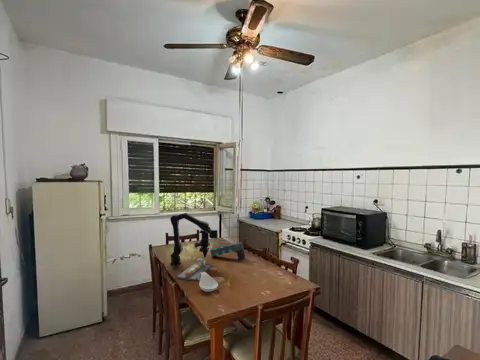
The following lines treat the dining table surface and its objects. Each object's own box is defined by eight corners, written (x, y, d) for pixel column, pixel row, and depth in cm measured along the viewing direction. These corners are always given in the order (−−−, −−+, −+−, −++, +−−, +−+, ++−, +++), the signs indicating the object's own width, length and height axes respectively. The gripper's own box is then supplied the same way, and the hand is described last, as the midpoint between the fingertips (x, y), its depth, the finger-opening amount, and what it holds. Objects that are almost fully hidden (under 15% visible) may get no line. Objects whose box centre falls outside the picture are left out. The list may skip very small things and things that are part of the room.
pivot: (200, 264, 208) (201, 261, 208) (204, 264, 207) (204, 262, 207) (198, 266, 203) (198, 263, 203) (201, 266, 202) (201, 264, 202)
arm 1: (198, 265, 203) (198, 262, 203) (199, 266, 202) (199, 263, 202) (185, 276, 181) (185, 273, 181) (186, 276, 181) (186, 273, 181)
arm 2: (200, 266, 202) (200, 263, 202) (201, 266, 202) (201, 263, 202) (186, 276, 181) (186, 273, 181) (188, 277, 181) (188, 273, 181)
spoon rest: (220, 292, 162) (220, 280, 162) (202, 296, 157) (202, 284, 156) (208, 278, 183) (208, 268, 183) (191, 281, 178) (192, 270, 178)
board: (176, 278, 182) (176, 276, 182) (194, 265, 209) (194, 263, 209) (195, 280, 178) (195, 278, 178) (210, 266, 205) (210, 265, 205)
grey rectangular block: (198, 264, 206) (198, 258, 206) (205, 265, 205) (205, 259, 205) (196, 265, 204) (196, 259, 203) (203, 266, 202) (203, 260, 202)
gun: (244, 258, 221) (239, 241, 222) (213, 266, 228) (208, 249, 229) (246, 256, 227) (241, 239, 228) (216, 263, 234) (211, 247, 235)
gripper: (197, 235, 220) (196, 253, 221) (192, 241, 202) (192, 261, 202) (210, 235, 220) (209, 254, 221) (207, 241, 202) (207, 261, 202)
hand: (204, 257), depth 211 cm, fingers closed
